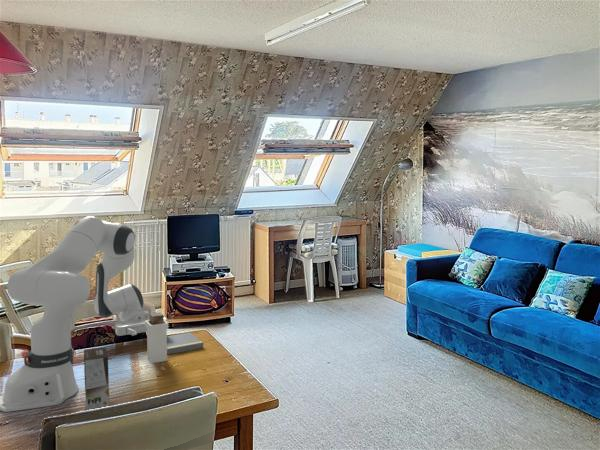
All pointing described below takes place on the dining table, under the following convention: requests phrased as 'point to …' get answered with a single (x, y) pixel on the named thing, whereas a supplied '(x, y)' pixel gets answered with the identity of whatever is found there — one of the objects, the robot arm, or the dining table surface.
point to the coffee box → (96, 378)
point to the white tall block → (156, 341)
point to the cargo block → (156, 318)
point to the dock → (182, 343)
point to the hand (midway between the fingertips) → (147, 331)
